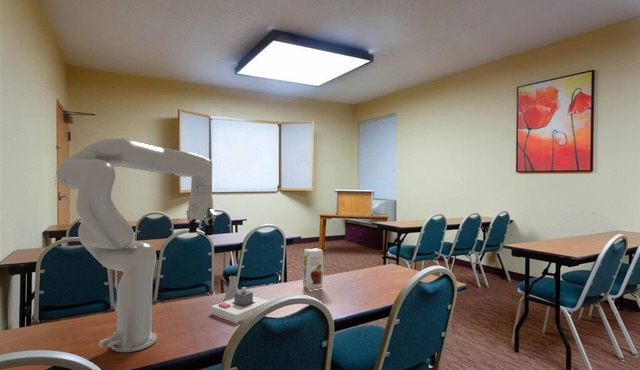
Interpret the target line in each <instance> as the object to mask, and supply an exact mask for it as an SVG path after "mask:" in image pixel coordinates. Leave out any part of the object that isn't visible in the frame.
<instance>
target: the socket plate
mask: <svg viewBox="0 0 640 370" xmlns="http://www.w3.org/2000/svg"><path fill="white" fill-rule="evenodd" d="M268 302H270V303H271V300H268V299H265V298H262V297H259V296H254V295H253V304H251V305H249V306H246V307H241V306H238V305H235V304H234V298H233V299H230V300H227V301H222V302H220V303H217V304H214V305H211V307H210V310H211V311H210V312H211V313H210V314H211V315H213V316H216V317H217V318H221V319H224V320H226V321H229V322H232V323H235V324H238V323H240V322H243V321H245V320H247V319H248V318H247V317H248V316H249V315H250V314H251V313H253V312H254V311H255V310H257V309H258V308H260V307H261V306H263V305H264V304H266V303H268ZM246 318H247V319H246ZM239 321H240V322H239Z"/></svg>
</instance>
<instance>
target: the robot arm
mask: <svg viewBox="0 0 640 370" xmlns="http://www.w3.org/2000/svg"><path fill="white" fill-rule="evenodd" d="M114 167H121V168H128V169H133V170H139V171H145V172H150V173H160V174H174V175H175V176H177V177H183V178H184V177H185V178H186V177H188V178H191V184H190V185H191V187H190V188H191V189H190V191H191V192H190V194H189V198H188V205H187V206H188V207H187V210H186V211H185V212H186V216H187V217H186V218H187V219H188V220H187V222H188V232H189V234H193V233H197V231H198V222H197V220H198V221H199V220H200V221H204V223H205V225H204V236H205V237H206V236H207V237H208V236H212V235H214V234H213V233H214V231H213V229H214V226H213V225H214V224H215V222H216V219H217V215H218V214H217V213H216V212H215V210H214V203H213V202H214V201H213V195H212V191H213V190H212V188H213V187H212V184H213V183H212V180H213V161H212V159H210V158H206V157H204V156H202V155H198V154H197V153H192V152H188V151H180V150H176V149H171V148H166V147H161V146H160V147H159V146H155V145H152V144H148V143H145V142H141V141H136V140H133V139H128V138H118V137H117V138H103V139H100V140H97V141H95V142H93V143H91V144H89V145H88V146H86V147H84V148H83V149H81V150H79V151H78V152H76V153H74V154H73V155H71V156H69V157H68V158H66V159H64V160H63V161H62V162H61V163H60V164H59V165H58V167H57V169H56V173H55V174H56V176H55V177H56V179H57V181H58V183H59V184H60V185H62V186H63V187H65V188H67V189H71V190H78V192H77V196H76V197H77V198H76V203H75V206H76V207H75V208H76V212H77V215H78V216H79V218H80V220H81V221H82V222H81V223H80V224H79V227H78V229H77V234H78V239H79V241H80V243H81V244H82V245H83V247H84V248H85V249H86V251H88V252H89V253H90V255H92V257H93V258H95V260H97V261H98V262H99V263H100V264H101V265H102V266H103V267H105V268H107V269H109V270H114V271H118V272H123V273H122V276H121V278H120V280H119V281H118V286H117V304H116V305H117V307H116V308H117V309H116V311H117V316H116V324H117V325H116V330H115V331H113V333H112V335H110V337H106V338H103V339H100V340H99V341H98V346H99V347H100V348H102V347H106V346H108V348H110V349H111V350H113V351H114V352H118V353H132V352H137V351H141V350H144V349H146V348H149V347H150V346H152V345H153V344H154V343H156V342H157V340H158V334H157V333H156V331H155V332H154V331H152V330H153V329H152V323H153V322H152V321H153V280H154V279H153V278H154V272H155V267H156V264H157V263H156V262H157V252H156V250H155V248H154V247H153V246H152V244H149V243H147V242H145V241H144V242H143V241H136V240H134V239H135V233H134V232H135V231H134V229H133V227H132V225H131V224H130V223H129V222H128V220H127V219H126V217H124V215H123V214H122V213H121V211H120V210H119V209H118V208H117V206H116V205H115V203H114V202H113V199H112V191H113V187H114V184H115V180H116V171H115V168H114Z"/></svg>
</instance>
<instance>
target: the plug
mask: <svg viewBox="0 0 640 370" xmlns="http://www.w3.org/2000/svg"><path fill="white" fill-rule="evenodd" d="M253 296H254V293H253V291H248V290H247V287H245V286H243V287H241V290H240V291H239V292H237V293H235V297H234V304H235V305H238V306H241V307H246V306H249V305H251V304H253Z"/></svg>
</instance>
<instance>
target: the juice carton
mask: <svg viewBox="0 0 640 370" xmlns="http://www.w3.org/2000/svg"><path fill="white" fill-rule="evenodd" d="M302 262H303V265H302V285H303V286H302V287H303V289H305V288H306V289H307V291H308V290H314V289H320V288H322V289H323V283H324V282H323V281H324V280H323V279H324V278H323V277H324V250H323V249H320V248H317V247H315V248H304V251H303V261H302ZM306 289H305V290H306Z"/></svg>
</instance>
